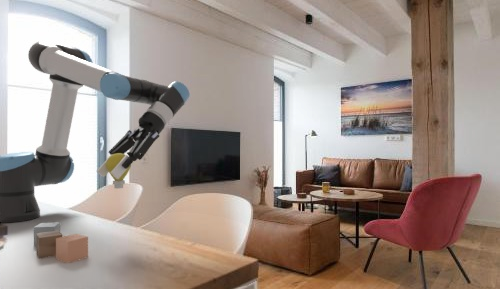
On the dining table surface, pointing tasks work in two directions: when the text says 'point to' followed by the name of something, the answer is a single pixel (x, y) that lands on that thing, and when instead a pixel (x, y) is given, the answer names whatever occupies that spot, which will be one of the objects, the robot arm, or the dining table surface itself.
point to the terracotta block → (71, 248)
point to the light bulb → (111, 164)
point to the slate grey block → (45, 228)
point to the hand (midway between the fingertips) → (107, 175)
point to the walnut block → (47, 243)
